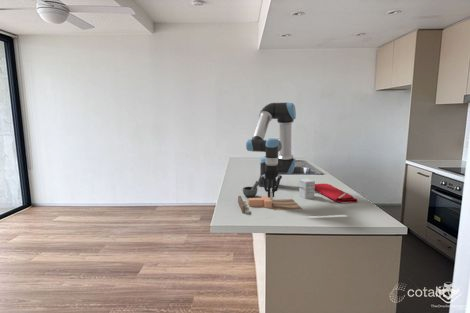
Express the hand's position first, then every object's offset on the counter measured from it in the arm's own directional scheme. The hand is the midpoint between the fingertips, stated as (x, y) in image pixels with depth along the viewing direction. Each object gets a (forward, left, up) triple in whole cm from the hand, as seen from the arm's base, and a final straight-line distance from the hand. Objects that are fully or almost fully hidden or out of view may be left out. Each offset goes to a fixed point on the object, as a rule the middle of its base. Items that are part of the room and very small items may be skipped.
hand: (270, 202), depth 178 cm
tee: (0, -7, -2) cm, 7 cm away
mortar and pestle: (-18, -9, -3) cm, 20 cm away
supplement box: (-14, +28, -3) cm, 31 cm away
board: (0, 0, -3) cm, 3 cm away
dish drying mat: (-24, +50, -3) cm, 55 cm away
